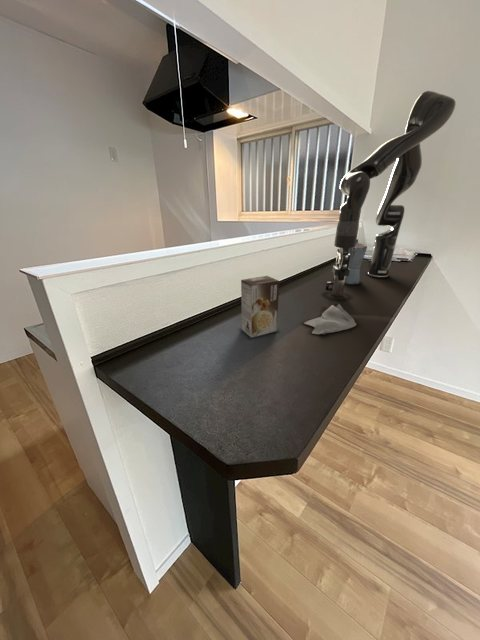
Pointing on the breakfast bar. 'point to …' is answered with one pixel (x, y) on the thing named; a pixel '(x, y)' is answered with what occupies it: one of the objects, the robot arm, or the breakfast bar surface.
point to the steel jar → (337, 282)
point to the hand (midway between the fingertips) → (339, 277)
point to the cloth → (332, 321)
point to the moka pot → (355, 263)
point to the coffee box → (259, 305)
